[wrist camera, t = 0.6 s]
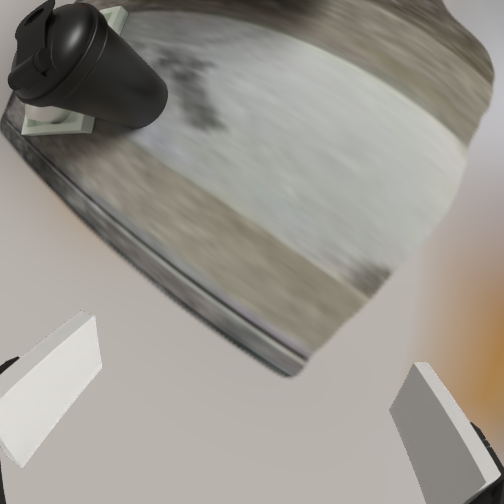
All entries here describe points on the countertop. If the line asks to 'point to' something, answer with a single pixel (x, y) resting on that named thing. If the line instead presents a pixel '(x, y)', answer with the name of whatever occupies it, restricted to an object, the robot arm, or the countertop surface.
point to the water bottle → (83, 67)
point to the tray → (74, 120)
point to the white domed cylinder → (46, 114)
